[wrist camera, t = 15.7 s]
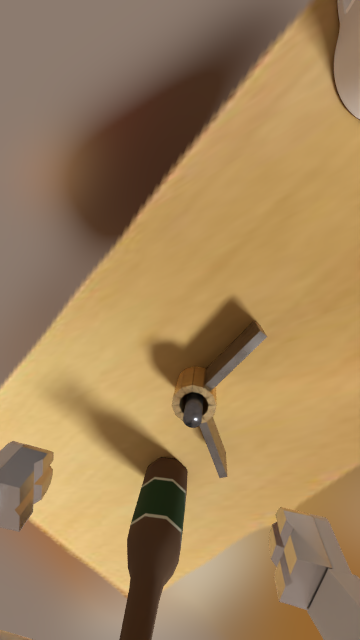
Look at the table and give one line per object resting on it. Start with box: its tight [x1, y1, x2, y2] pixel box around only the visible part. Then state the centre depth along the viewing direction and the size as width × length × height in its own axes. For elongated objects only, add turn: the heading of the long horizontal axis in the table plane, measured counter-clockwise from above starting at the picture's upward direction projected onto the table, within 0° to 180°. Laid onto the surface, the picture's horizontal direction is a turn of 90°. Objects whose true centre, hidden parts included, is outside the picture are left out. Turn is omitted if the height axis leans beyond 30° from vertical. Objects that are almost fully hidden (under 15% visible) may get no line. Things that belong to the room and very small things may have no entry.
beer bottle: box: [120, 457, 187, 640], centre depth 36 cm, size 8×8×24 cm
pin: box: [183, 392, 204, 428], centre depth 38 cm, size 2×2×9 cm
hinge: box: [172, 321, 267, 478], centre depth 39 cm, size 21×15×6 cm
